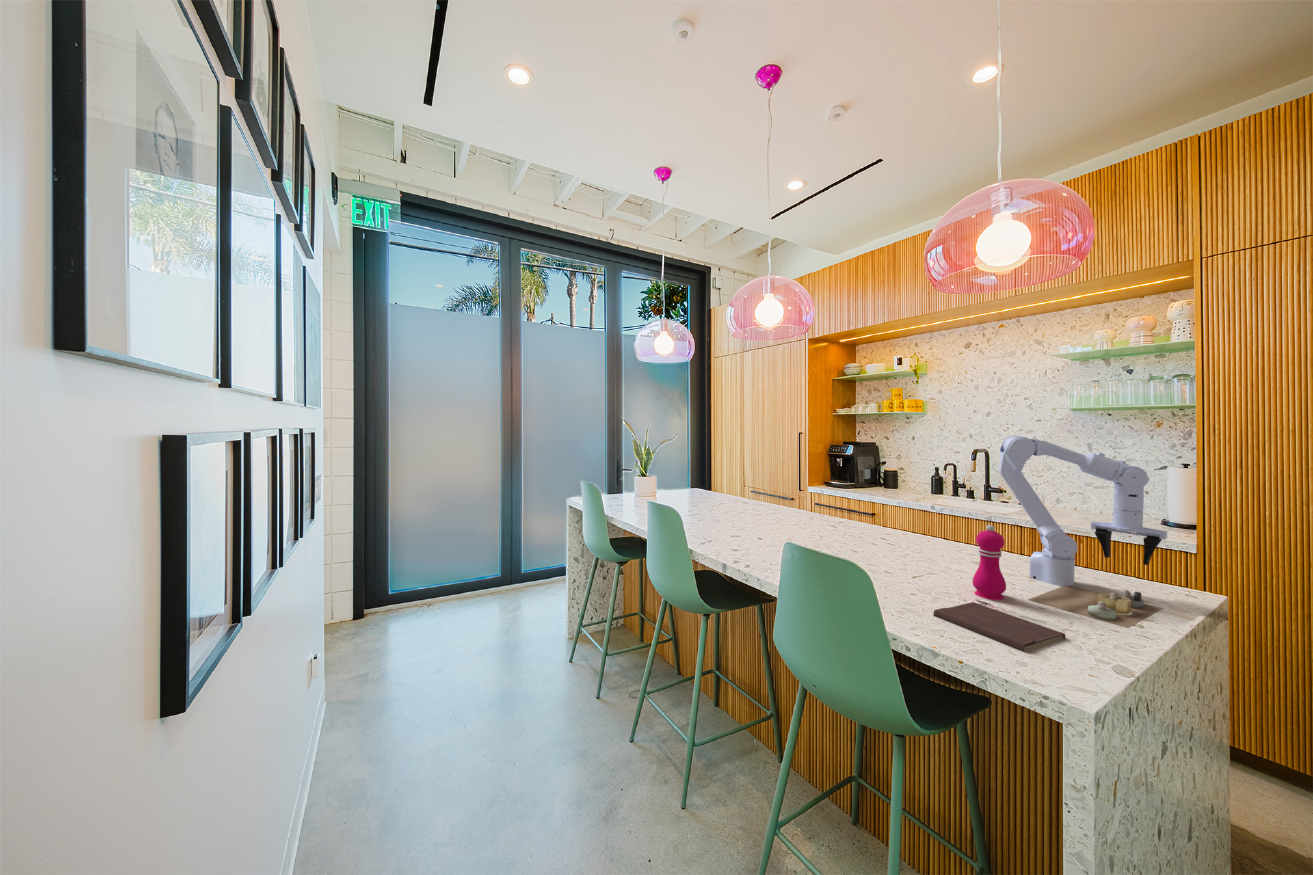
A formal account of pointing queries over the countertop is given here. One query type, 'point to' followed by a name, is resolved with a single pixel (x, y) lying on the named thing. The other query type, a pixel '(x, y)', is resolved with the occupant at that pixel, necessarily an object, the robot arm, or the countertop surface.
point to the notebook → (999, 626)
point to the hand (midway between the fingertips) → (1126, 560)
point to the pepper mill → (989, 566)
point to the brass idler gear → (1116, 603)
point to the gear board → (1087, 605)
